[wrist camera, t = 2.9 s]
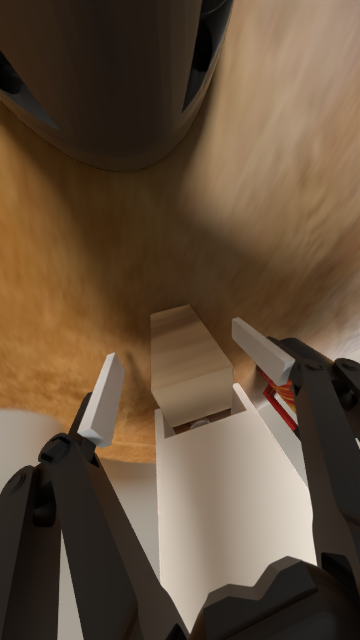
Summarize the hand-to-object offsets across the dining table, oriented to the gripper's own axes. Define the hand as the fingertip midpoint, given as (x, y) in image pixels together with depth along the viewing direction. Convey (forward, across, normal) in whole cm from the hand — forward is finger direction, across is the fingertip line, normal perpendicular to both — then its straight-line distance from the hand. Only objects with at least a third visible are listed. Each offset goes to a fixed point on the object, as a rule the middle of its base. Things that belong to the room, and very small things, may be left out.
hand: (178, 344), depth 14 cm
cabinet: (+4, +1, -25) cm, 25 cm away
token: (+4, 0, -29) cm, 29 cm away
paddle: (+4, 0, -10) cm, 10 cm away
